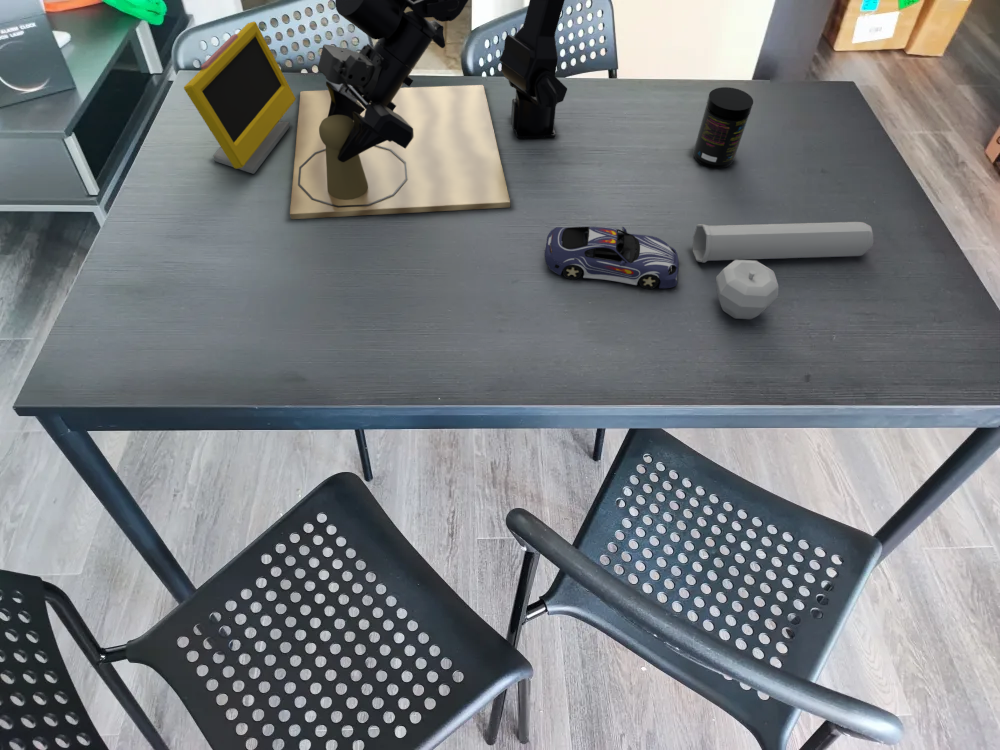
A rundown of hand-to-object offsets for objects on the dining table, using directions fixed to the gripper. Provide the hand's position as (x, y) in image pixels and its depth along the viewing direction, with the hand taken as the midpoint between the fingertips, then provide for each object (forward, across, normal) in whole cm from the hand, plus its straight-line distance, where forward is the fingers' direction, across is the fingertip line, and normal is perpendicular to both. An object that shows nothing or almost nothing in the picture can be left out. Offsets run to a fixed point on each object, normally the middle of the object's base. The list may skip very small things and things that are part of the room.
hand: (332, 151), depth 99 cm
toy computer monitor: (+10, -18, +1) cm, 21 cm away
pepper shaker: (+4, 0, +6) cm, 7 cm away
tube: (-28, +43, +40) cm, 65 cm away
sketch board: (-4, -7, +15) cm, 17 cm away
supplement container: (-34, +21, +46) cm, 61 cm away
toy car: (-12, +33, +24) cm, 42 cm away
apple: (-19, +48, +30) cm, 60 cm away
